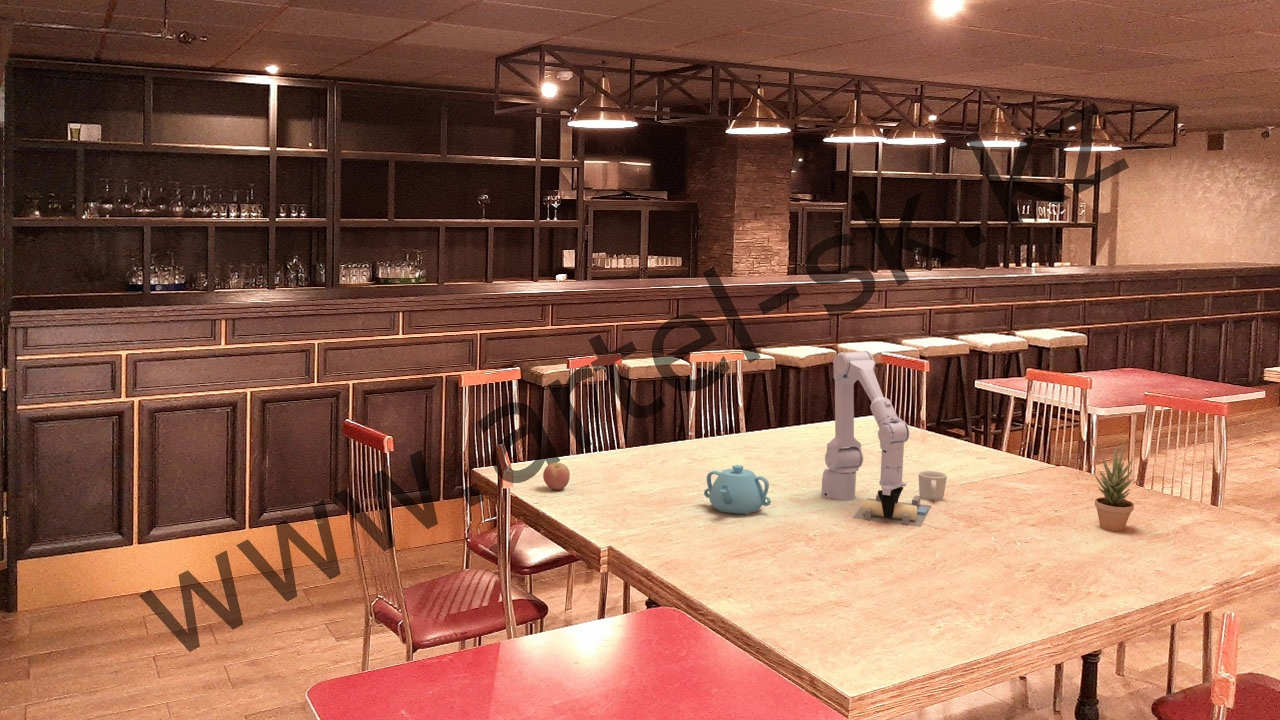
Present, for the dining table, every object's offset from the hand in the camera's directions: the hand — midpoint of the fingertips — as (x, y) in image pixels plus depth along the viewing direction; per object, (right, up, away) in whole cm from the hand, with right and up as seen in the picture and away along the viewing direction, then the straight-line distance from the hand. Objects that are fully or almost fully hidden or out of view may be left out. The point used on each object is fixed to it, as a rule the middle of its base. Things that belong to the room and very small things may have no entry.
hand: (889, 514), depth 279 cm
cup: (+17, +1, +20) cm, 26 cm away
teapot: (-42, 0, +7) cm, 42 cm away
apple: (-93, +3, +27) cm, 97 cm away
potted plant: (+59, -3, -3) cm, 59 cm away
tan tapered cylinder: (0, -1, 0) cm, 1 cm away
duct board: (+2, -1, +6) cm, 6 cm away
